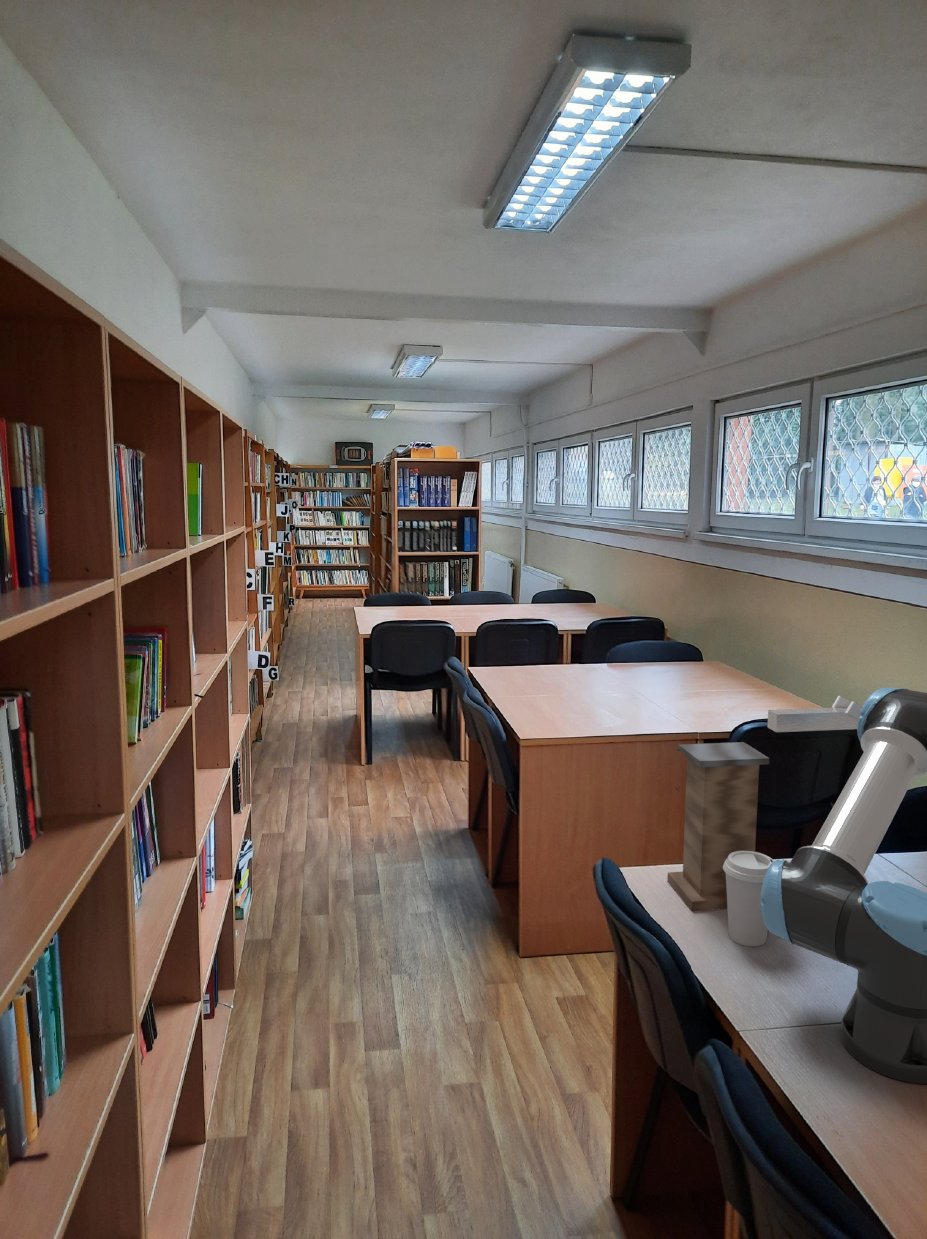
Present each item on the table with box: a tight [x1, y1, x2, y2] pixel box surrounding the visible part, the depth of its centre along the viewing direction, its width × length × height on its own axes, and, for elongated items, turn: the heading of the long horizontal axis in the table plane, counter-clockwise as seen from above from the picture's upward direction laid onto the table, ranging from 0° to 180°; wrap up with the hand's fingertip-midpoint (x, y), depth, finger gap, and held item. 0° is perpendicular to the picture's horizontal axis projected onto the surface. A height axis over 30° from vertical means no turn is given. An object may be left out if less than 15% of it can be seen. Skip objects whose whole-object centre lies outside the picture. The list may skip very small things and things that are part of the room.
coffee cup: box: [723, 851, 775, 947], centre depth 152 cm, size 10×10×15 cm
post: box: [667, 741, 770, 912], centre depth 168 cm, size 16×13×30 cm
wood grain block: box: [767, 703, 864, 733], centre depth 167 cm, size 23×4×4 cm, turn 97°
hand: (842, 704), depth 167 cm, fingers closed on wood grain block, 4 cm apart
